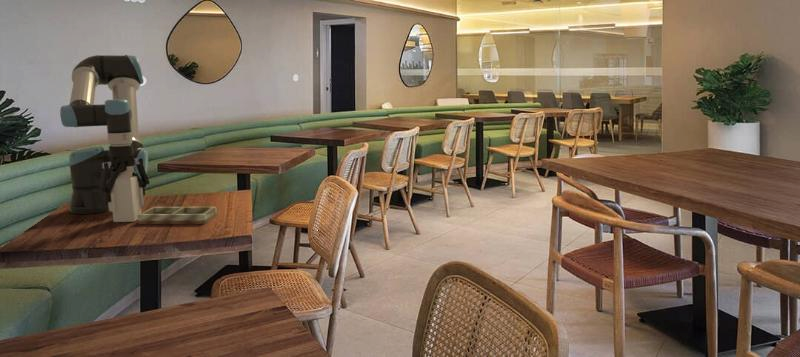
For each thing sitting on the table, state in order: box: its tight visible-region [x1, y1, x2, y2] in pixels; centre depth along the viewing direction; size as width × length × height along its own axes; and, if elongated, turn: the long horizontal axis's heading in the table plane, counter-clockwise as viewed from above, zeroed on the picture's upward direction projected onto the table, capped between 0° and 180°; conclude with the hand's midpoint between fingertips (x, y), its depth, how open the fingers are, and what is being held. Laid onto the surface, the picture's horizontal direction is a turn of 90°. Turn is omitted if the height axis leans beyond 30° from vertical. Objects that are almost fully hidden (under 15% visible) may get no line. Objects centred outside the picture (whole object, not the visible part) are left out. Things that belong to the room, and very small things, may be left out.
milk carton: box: [109, 166, 142, 223], centre depth 208 cm, size 7×7×19 cm
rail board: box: [137, 206, 218, 225], centre depth 209 cm, size 23×12×3 cm, turn 88°
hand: (126, 208), depth 209 cm, fingers closed on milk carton, 10 cm apart
